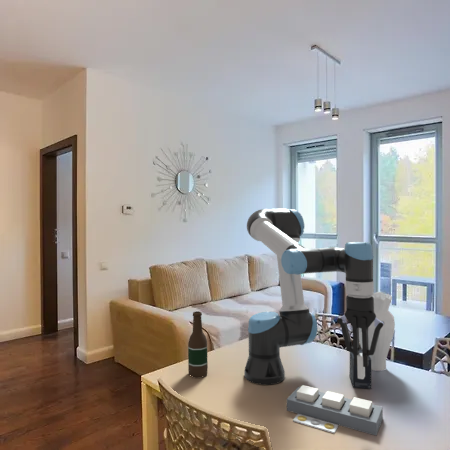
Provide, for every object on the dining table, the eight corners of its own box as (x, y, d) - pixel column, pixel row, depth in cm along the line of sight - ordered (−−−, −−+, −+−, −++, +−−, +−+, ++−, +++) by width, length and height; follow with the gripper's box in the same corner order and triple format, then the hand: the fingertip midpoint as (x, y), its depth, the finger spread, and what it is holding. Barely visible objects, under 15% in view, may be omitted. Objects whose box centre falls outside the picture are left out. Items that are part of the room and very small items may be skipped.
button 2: (322, 405, 109) (322, 397, 109) (327, 398, 114) (327, 390, 114) (339, 410, 106) (339, 402, 106) (344, 402, 111) (344, 394, 111)
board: (286, 410, 113) (286, 399, 113) (298, 397, 121) (298, 386, 121) (376, 435, 99) (376, 422, 99) (382, 418, 107) (382, 406, 107)
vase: (375, 377, 135) (374, 299, 135) (347, 363, 149) (346, 292, 149) (404, 370, 141) (403, 295, 141) (374, 358, 155) (373, 289, 154)
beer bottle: (184, 376, 139) (183, 313, 139) (193, 368, 146) (192, 309, 146) (202, 379, 136) (201, 315, 136) (211, 371, 143) (210, 310, 143)
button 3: (349, 412, 105) (349, 404, 105) (353, 405, 109) (353, 397, 109) (368, 417, 102) (368, 409, 102) (372, 409, 106) (372, 401, 106)
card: (293, 421, 107) (293, 419, 107) (298, 415, 110) (298, 413, 110) (334, 433, 100) (334, 431, 100) (338, 426, 103) (338, 424, 103)
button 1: (296, 399, 113) (296, 391, 113) (302, 392, 118) (302, 385, 118) (313, 403, 111) (313, 395, 111) (318, 396, 115) (318, 388, 115)
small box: (372, 389, 126) (372, 359, 126) (352, 388, 127) (352, 358, 127) (367, 376, 136) (366, 348, 136) (348, 375, 138) (348, 347, 138)
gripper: (333, 295, 106) (335, 377, 106) (381, 299, 99) (383, 387, 99) (340, 291, 112) (341, 368, 112) (386, 295, 105) (387, 377, 105)
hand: (361, 377), depth 105 cm, fingers closed
